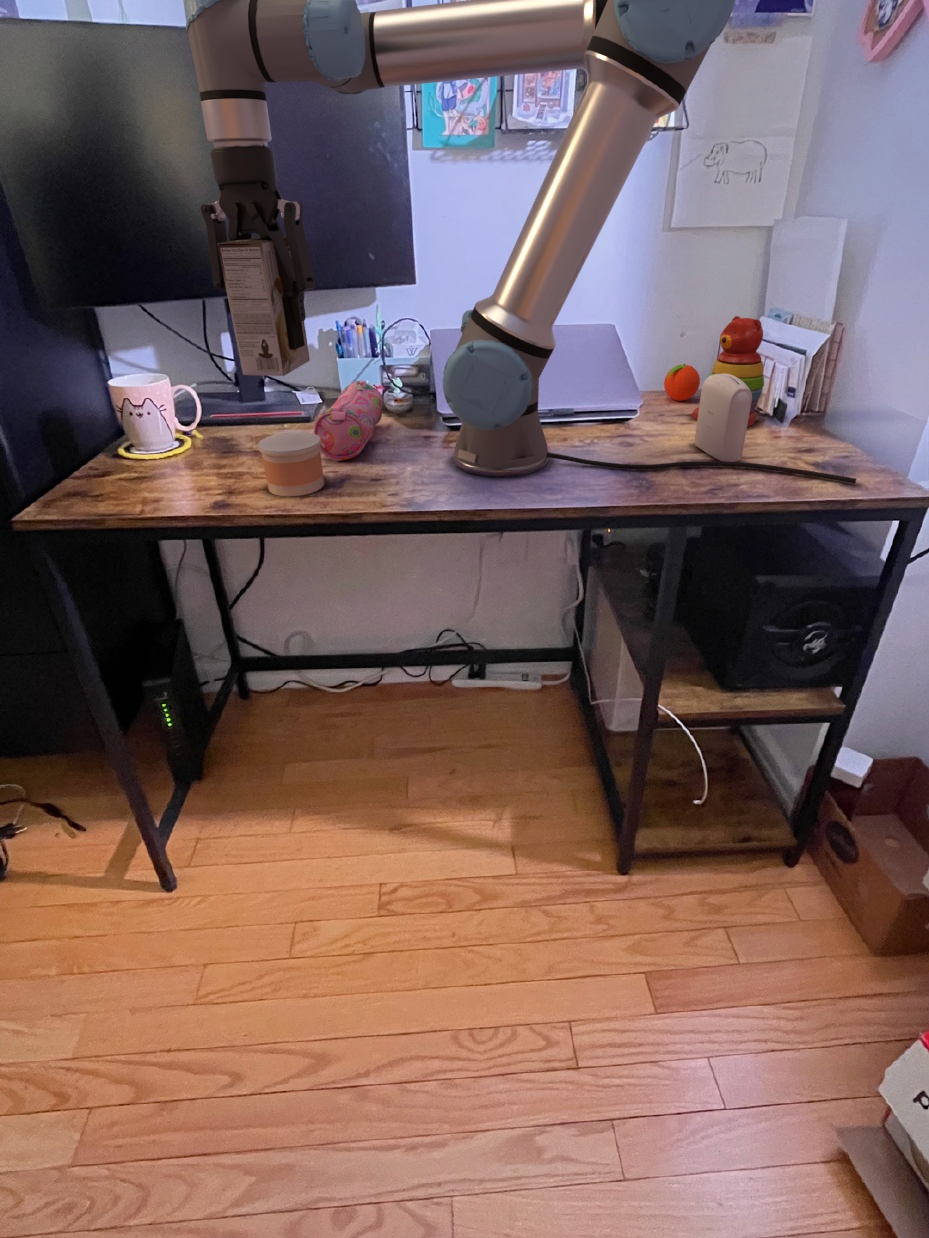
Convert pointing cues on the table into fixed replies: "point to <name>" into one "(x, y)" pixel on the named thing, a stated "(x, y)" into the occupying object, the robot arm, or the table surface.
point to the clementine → (681, 382)
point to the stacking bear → (742, 357)
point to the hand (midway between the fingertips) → (273, 346)
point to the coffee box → (259, 308)
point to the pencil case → (349, 421)
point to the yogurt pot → (292, 463)
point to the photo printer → (723, 417)
